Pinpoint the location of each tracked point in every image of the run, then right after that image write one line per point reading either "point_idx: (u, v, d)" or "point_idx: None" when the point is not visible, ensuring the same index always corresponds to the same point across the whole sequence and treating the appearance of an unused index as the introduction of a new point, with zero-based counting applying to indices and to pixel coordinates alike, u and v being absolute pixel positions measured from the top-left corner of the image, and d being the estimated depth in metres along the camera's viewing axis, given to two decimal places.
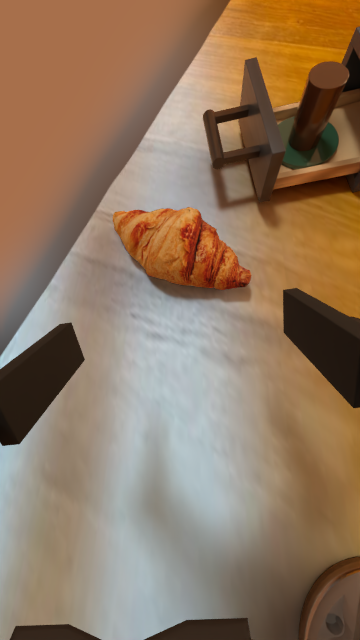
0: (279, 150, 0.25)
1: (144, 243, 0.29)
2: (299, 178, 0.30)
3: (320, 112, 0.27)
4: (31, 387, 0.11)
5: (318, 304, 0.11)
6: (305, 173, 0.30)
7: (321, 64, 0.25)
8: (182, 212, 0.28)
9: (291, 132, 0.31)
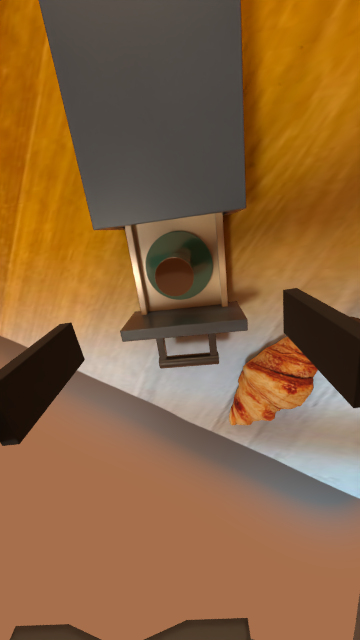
0: (245, 324, 0.27)
1: (276, 409, 0.36)
2: None
3: None
4: (31, 387, 0.11)
5: (318, 304, 0.11)
6: (225, 273, 0.30)
7: (158, 282, 0.24)
8: (263, 387, 0.33)
9: None
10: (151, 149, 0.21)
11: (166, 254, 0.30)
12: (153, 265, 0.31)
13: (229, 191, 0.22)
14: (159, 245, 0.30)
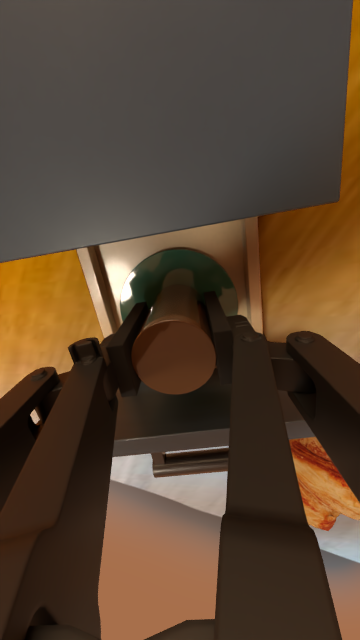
0: None
1: (339, 512, 0.23)
2: None
3: None
4: None
5: (215, 304, 0.13)
6: (261, 319, 0.17)
7: (139, 369, 0.11)
8: (325, 493, 0.20)
9: None
10: (97, 52, 0.08)
11: (155, 290, 0.17)
12: None
13: (302, 161, 0.09)
14: (142, 274, 0.17)
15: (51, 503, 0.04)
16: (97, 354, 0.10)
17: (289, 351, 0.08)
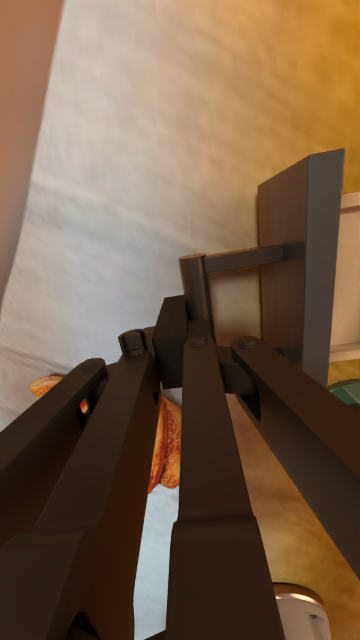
0: None
1: None
2: None
3: None
4: None
5: (180, 308, 0.13)
6: (346, 359, 0.18)
7: None
8: None
9: None
10: None
11: None
12: None
13: None
14: None
15: (95, 498, 0.04)
16: (144, 346, 0.10)
17: (232, 356, 0.09)
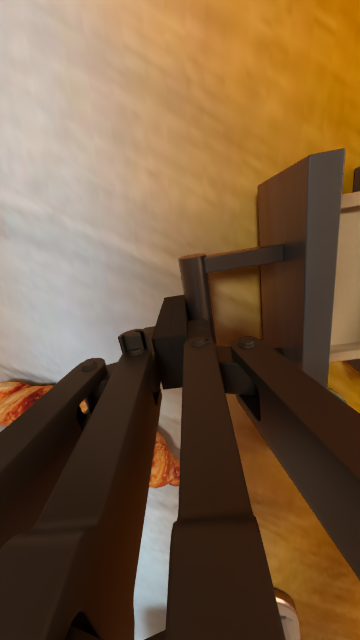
0: None
1: None
2: None
3: None
4: None
5: (180, 308, 0.13)
6: (346, 359, 0.18)
7: None
8: None
9: None
10: None
11: None
12: None
13: None
14: None
15: (95, 498, 0.04)
16: (144, 346, 0.10)
17: (232, 356, 0.09)
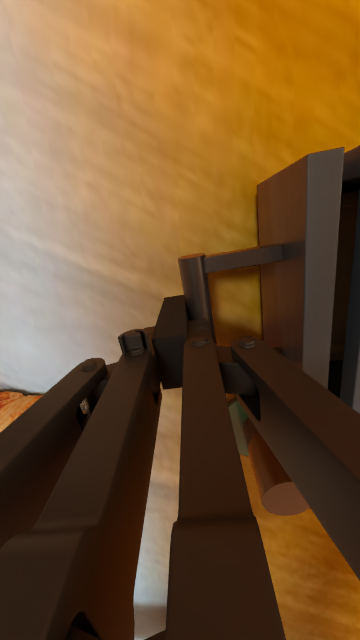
0: None
1: None
2: None
3: None
4: None
5: (180, 308, 0.13)
6: None
7: (284, 485, 0.17)
8: None
9: (245, 438, 0.23)
10: None
11: None
12: None
13: None
14: None
15: (95, 498, 0.04)
16: (144, 346, 0.10)
17: (232, 355, 0.09)
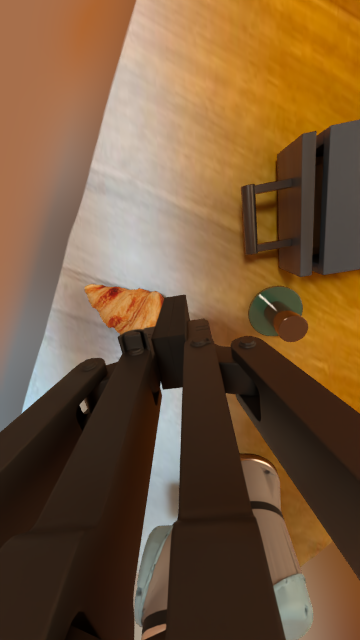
0: (307, 274, 0.29)
1: (119, 328, 0.37)
2: None
3: None
4: None
5: (180, 308, 0.13)
6: None
7: (291, 318, 0.32)
8: (147, 312, 0.35)
9: (266, 316, 0.38)
10: None
11: (286, 303, 0.39)
12: (279, 293, 0.38)
13: (337, 260, 0.28)
14: (294, 298, 0.38)
15: (95, 498, 0.04)
16: (144, 346, 0.10)
17: (232, 355, 0.09)
